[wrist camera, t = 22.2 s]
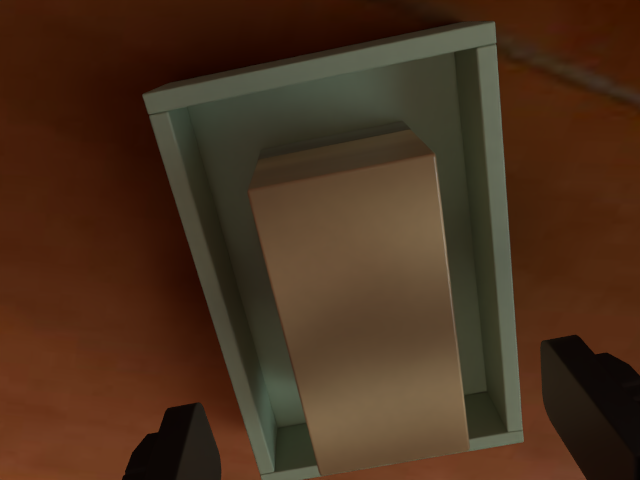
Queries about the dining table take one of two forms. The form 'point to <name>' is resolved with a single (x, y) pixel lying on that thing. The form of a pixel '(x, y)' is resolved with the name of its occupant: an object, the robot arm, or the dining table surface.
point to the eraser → (363, 294)
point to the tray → (324, 120)
